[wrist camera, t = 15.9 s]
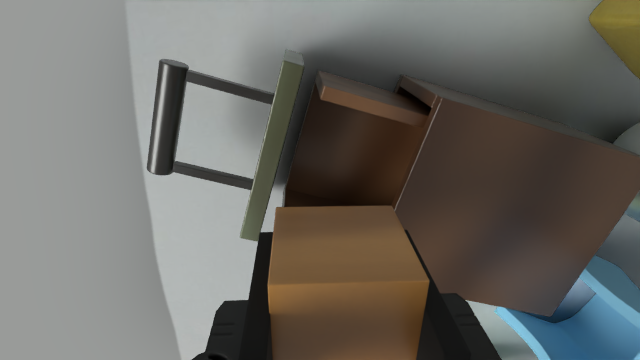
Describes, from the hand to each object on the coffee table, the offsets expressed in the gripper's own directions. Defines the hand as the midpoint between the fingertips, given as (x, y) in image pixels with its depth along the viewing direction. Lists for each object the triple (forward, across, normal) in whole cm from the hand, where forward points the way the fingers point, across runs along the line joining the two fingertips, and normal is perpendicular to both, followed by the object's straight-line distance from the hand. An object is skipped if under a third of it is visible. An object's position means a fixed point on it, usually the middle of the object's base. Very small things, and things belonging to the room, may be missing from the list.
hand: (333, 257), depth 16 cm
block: (0, 0, 0) cm, 0 cm away
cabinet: (+14, +12, -2) cm, 19 cm away
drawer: (+13, -1, +1) cm, 14 cm away
